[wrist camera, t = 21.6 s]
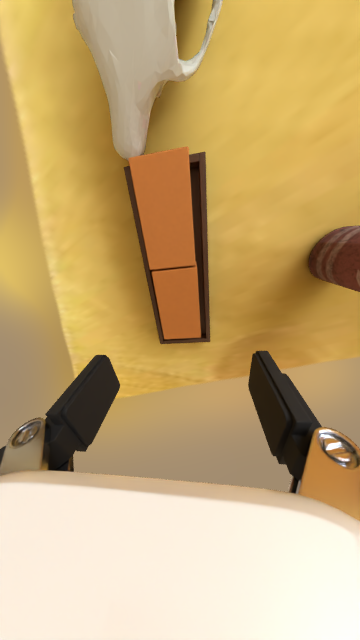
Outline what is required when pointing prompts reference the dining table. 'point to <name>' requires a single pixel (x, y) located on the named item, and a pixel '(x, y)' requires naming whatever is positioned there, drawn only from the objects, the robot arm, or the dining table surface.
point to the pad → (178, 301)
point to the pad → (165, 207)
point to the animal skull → (135, 59)
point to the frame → (200, 244)
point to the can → (338, 258)
